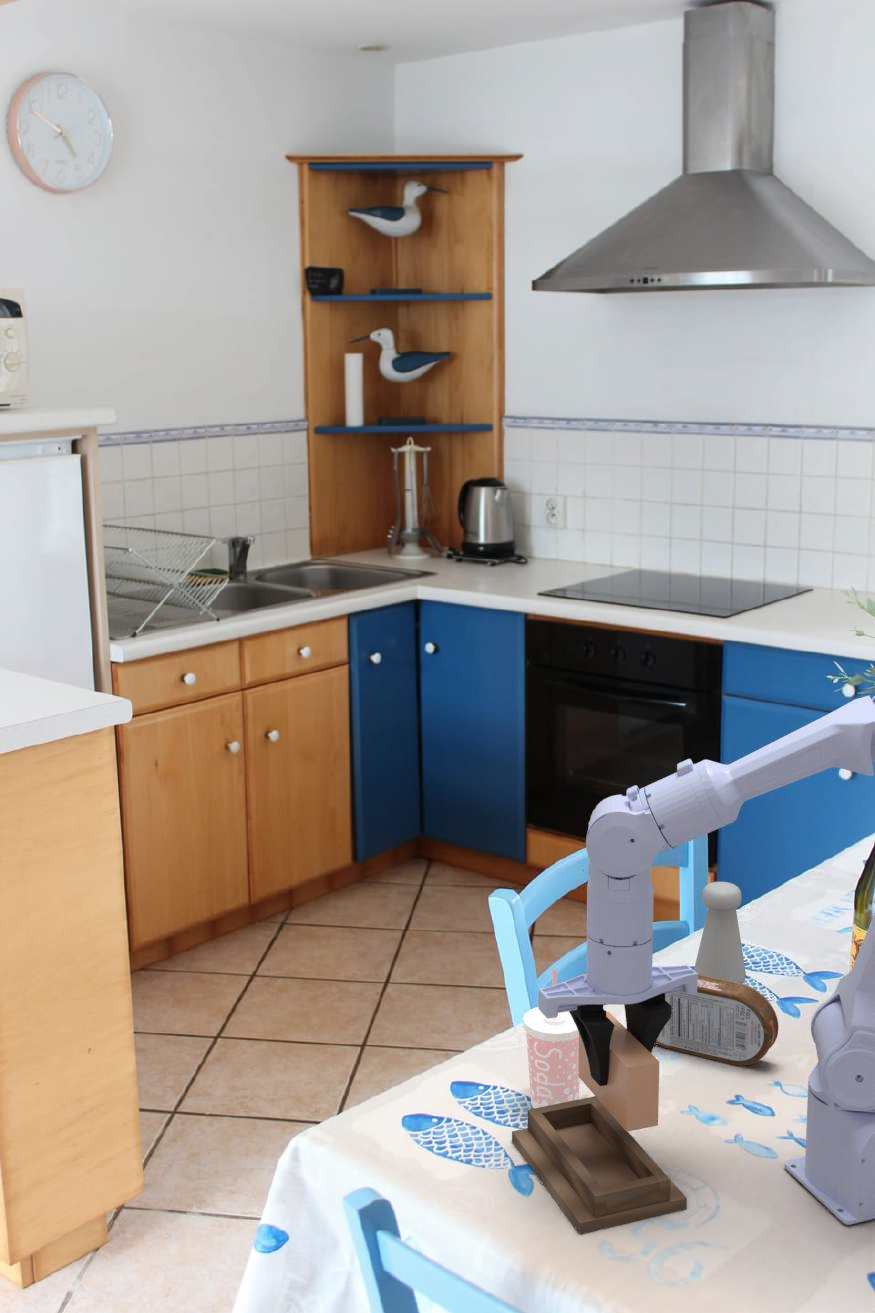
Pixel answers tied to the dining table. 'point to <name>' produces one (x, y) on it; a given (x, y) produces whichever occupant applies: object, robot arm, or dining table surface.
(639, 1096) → the tan rectangular block
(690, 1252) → the dining table surface
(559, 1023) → the beverage cup
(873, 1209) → the robot arm
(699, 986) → the tin
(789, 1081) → the dining table surface
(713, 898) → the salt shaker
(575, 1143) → the tray
